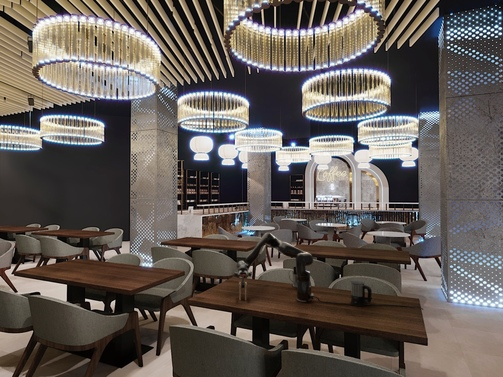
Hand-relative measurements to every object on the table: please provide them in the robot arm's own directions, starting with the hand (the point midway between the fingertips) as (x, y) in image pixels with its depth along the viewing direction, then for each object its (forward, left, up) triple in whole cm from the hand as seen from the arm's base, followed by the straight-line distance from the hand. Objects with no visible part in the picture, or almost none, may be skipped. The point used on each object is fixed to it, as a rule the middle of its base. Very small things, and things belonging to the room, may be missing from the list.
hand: (243, 276), depth 237 cm
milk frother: (-74, -37, -16) cm, 85 cm away
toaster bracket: (-3, +5, -16) cm, 17 cm away
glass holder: (-18, -50, -16) cm, 55 cm away
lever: (-1, +1, -4) cm, 4 cm away
